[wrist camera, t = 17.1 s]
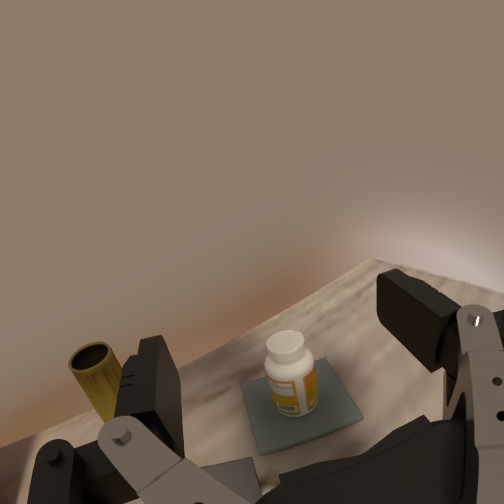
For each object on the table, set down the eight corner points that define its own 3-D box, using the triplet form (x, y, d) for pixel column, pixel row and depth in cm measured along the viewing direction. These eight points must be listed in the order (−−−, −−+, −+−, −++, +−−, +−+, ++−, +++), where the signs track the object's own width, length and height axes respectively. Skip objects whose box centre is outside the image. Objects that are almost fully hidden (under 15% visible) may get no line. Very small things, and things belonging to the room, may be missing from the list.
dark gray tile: (169, 548, 18) (168, 548, 18) (165, 474, 28) (164, 473, 28) (273, 533, 19) (272, 533, 19) (251, 457, 29) (251, 456, 29)
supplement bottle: (308, 380, 38) (299, 319, 34) (326, 408, 33) (319, 345, 29) (268, 395, 37) (253, 335, 33) (282, 424, 32) (267, 364, 28)
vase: (139, 417, 37) (91, 335, 32) (173, 430, 34) (125, 344, 29) (113, 447, 32) (55, 365, 27) (147, 465, 29) (85, 381, 24)
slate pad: (260, 455, 29) (259, 452, 29) (241, 386, 40) (240, 383, 40) (363, 419, 30) (363, 416, 30) (325, 360, 41) (324, 357, 41)
